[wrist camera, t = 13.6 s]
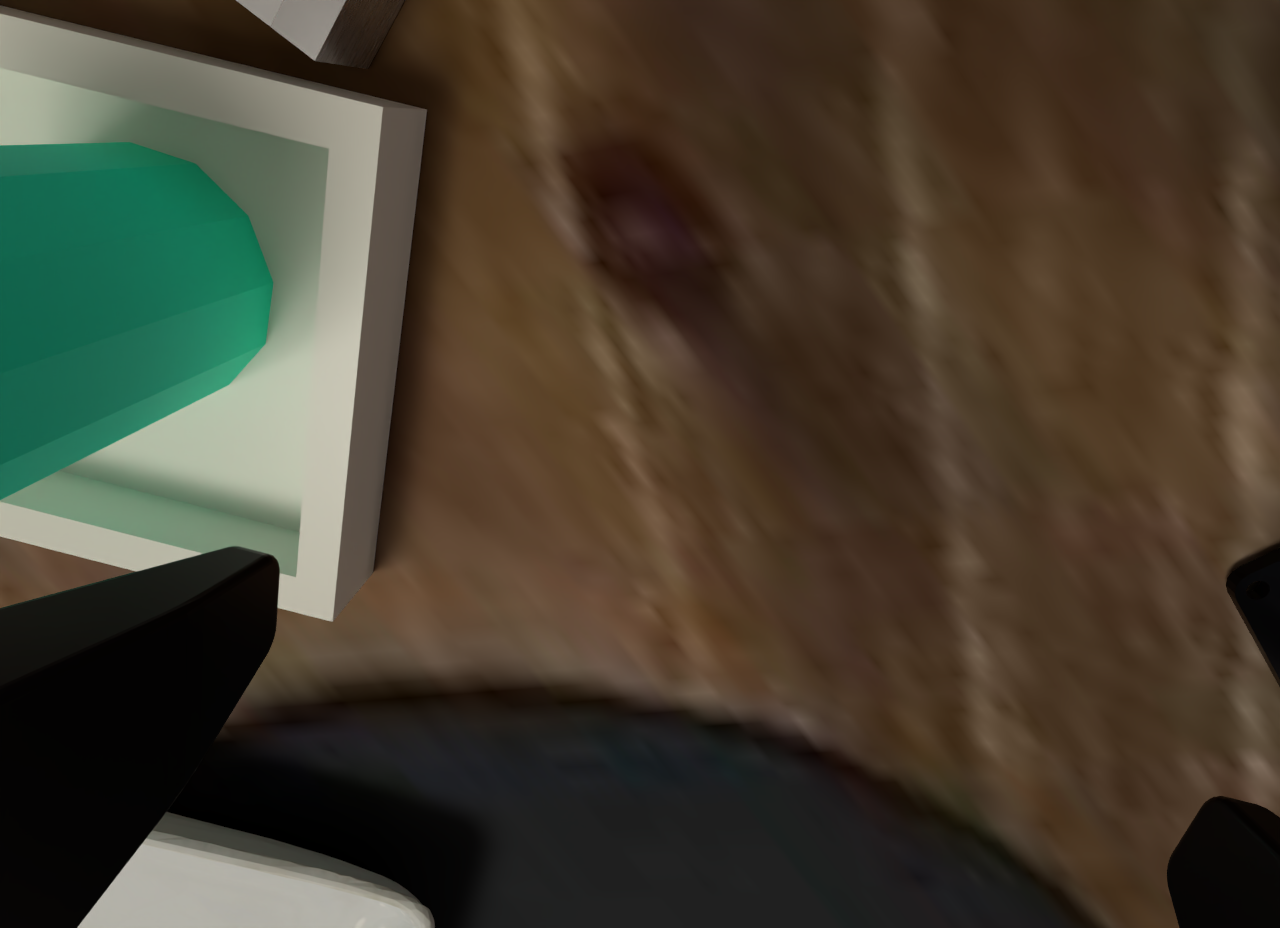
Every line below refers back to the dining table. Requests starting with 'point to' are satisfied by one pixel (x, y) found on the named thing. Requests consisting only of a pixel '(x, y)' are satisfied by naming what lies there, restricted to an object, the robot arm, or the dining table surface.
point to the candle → (115, 298)
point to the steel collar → (330, 26)
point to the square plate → (246, 885)
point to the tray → (298, 321)
